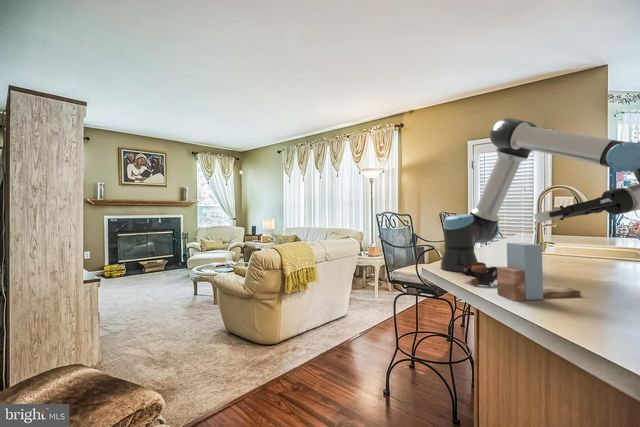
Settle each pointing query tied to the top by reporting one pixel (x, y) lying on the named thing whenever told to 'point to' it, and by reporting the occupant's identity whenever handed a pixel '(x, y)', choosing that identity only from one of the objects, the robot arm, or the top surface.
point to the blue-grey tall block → (528, 266)
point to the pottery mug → (480, 273)
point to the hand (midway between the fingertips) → (536, 218)
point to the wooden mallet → (514, 286)
